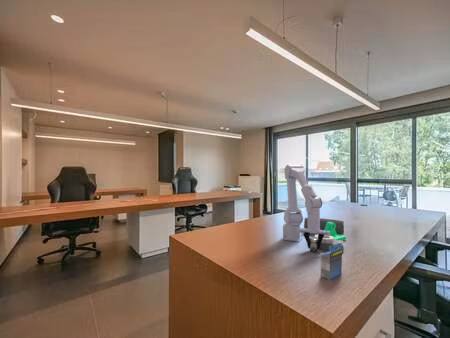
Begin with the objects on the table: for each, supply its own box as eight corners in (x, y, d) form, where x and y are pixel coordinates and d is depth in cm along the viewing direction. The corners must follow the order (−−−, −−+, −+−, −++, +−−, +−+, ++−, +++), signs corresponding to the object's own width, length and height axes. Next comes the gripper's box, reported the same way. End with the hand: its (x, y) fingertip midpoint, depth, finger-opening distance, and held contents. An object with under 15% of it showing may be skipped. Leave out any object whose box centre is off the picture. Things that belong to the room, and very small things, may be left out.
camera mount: (334, 244, 123) (334, 225, 124) (322, 240, 130) (321, 222, 130) (346, 240, 130) (346, 222, 130) (334, 237, 136) (334, 220, 136)
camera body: (312, 248, 116) (312, 237, 116) (314, 243, 124) (314, 233, 124) (343, 252, 109) (343, 241, 110) (343, 247, 117) (343, 236, 118)
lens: (308, 251, 111) (308, 239, 111) (310, 249, 114) (309, 237, 114) (318, 253, 109) (317, 241, 109) (318, 250, 112) (318, 238, 113)
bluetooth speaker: (344, 234, 141) (343, 219, 142) (343, 238, 133) (343, 221, 133) (306, 230, 152) (306, 215, 153) (303, 233, 144) (303, 218, 145)
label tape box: (332, 270, 89) (332, 239, 90) (342, 274, 86) (342, 242, 86) (320, 276, 84) (319, 243, 84) (330, 280, 81) (330, 246, 81)
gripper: (297, 221, 112) (297, 248, 111) (329, 224, 105) (329, 253, 105) (299, 218, 118) (299, 244, 118) (329, 221, 111) (330, 248, 111)
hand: (313, 248), depth 112 cm, fingers closed on lens, 4 cm apart
